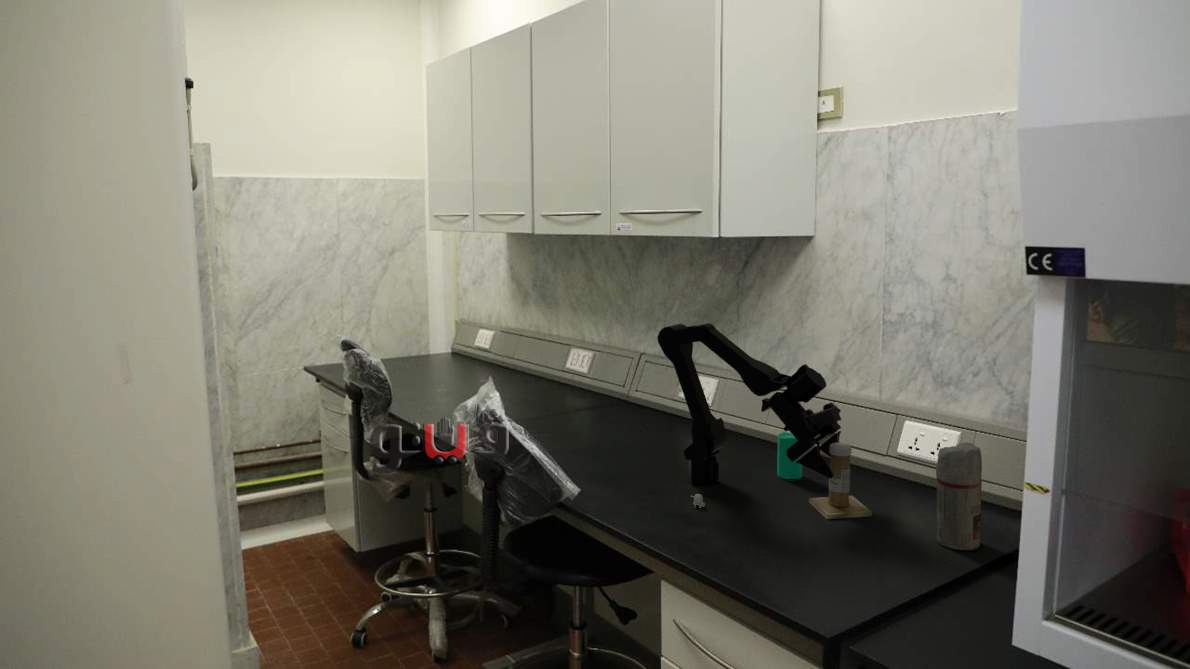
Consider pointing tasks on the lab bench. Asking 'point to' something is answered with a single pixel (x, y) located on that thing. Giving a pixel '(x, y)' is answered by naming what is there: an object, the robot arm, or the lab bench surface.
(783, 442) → the candle
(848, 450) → the sprinkles bottle
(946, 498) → the spray can
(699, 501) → the small grey figurine
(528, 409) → the lab bench surface
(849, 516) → the rest pad
